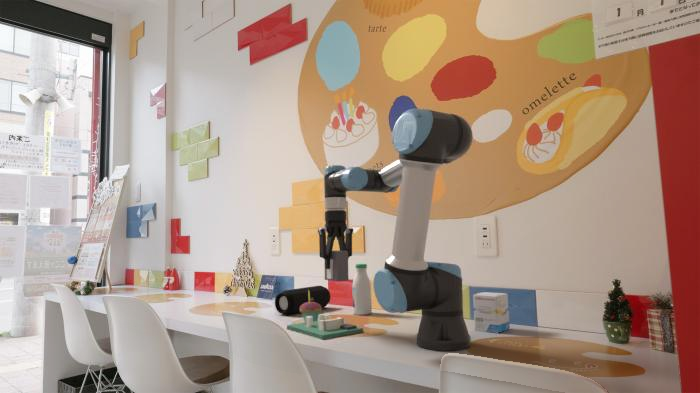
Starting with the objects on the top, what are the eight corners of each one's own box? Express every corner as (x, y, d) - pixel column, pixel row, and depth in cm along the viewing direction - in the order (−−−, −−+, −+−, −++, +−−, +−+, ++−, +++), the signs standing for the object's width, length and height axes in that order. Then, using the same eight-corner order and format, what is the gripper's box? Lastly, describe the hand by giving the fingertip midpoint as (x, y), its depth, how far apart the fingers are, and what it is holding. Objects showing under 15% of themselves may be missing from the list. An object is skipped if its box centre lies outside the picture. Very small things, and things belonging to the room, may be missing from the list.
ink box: (510, 329, 147) (508, 293, 148) (498, 333, 140) (497, 295, 141) (485, 326, 152) (484, 291, 153) (473, 330, 146) (472, 294, 147)
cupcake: (318, 323, 164) (318, 289, 165) (296, 322, 166) (295, 289, 167) (324, 319, 172) (324, 287, 173) (303, 318, 174) (302, 287, 175)
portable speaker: (290, 317, 179) (289, 291, 180) (273, 315, 185) (273, 290, 186) (332, 308, 199) (331, 285, 200) (315, 306, 205) (315, 284, 206)
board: (363, 331, 147) (362, 318, 148) (322, 339, 138) (322, 325, 138) (325, 322, 165) (325, 311, 165) (287, 328, 155) (286, 316, 155)
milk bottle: (375, 312, 184) (373, 263, 186) (365, 315, 177) (364, 264, 179) (359, 311, 188) (358, 263, 190) (349, 314, 181) (348, 264, 183)
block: (348, 280, 153) (348, 250, 153) (337, 281, 150) (337, 251, 151) (334, 278, 160) (333, 250, 161) (323, 279, 157) (322, 250, 158)
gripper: (350, 211, 165) (351, 275, 163) (308, 210, 155) (308, 279, 153) (362, 210, 158) (363, 277, 157) (319, 209, 148) (320, 280, 147)
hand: (336, 277), depth 155 cm, fingers closed on block, 4 cm apart
